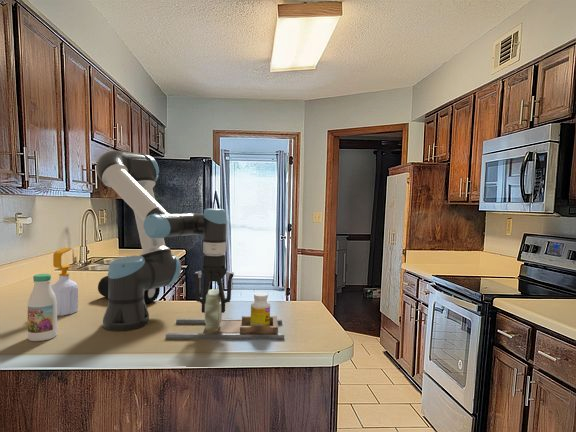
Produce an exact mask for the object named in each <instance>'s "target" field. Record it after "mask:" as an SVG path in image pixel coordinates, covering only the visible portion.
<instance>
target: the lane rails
mask: <svg viewBox="0 0 576 432" xmlns="http://www.w3.org/2000/svg"><path fill="white" fill-rule="evenodd" d="M175 321H176V323H175V324H176V325H177V324H178V325H206V323H205V318H176V319H175ZM222 321H242V318H222ZM277 323H278V325H283V319H281V318H279V319H278V318H277ZM165 340H285V333H278V334H259V333H203V332H202V333H201V332H195V333H194V332H189V333H188V332H187V333H186V332H166V334H165Z"/></svg>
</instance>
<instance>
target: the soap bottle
mask: <svg viewBox="0 0 576 432" xmlns="http://www.w3.org/2000/svg"><path fill="white" fill-rule="evenodd" d="M69 251H71V248H70V247H63V248H60V249H58V250H56V251H55V252H54V253H53V257H52V260H53V261H52V263H53V265H52V266H53V267H54V268H57V269H59V271H61V273H59V274H58V280H57V281H56V282H54V283H53V284H51V288H52V290H53V292H54V293H55V296H56V300H57V317H59V316H61V317H62V316H63V317H64V316H68V315H69V316H70V315H73V314H76V312H78V311H79V286H78V283H77V282H75V281H74V280H72V279H70V273H69V272H67V271H69V268H73V265H69V264H64V265H62V256H63V254H65V253H67V252H69Z"/></svg>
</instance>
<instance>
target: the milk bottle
mask: <svg viewBox="0 0 576 432" xmlns="http://www.w3.org/2000/svg"><path fill="white" fill-rule="evenodd" d="M32 277H33V283H34V284H33V285H34V286H33V287H32V292H31V293H30V294H29V297H28V301H27V339H28V341H29V342H30V341H31V342H43V341H47V340H51V339H53V338H55V337H56V336H57V335H58V316H57V300H56V296H55V293H54V292H53V290H52V288H51V286H52V284H51V281H52V275H51V274H50V273H38V274H35V275H33V276H32Z"/></svg>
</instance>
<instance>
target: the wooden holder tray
mask: <svg viewBox="0 0 576 432" xmlns="http://www.w3.org/2000/svg"><path fill="white" fill-rule="evenodd" d="M220 302H221V299H220V294H219V288H218V289H213V288H212V289H210V288H209V290H208V293H207V295H206V324H205V327H204V328H203V329H204V330H203V332H202V333H259V334H279V324H278V323H277V319H278V317H277V315H270V326H250V322H251V315H241V319H242V321H221V323H219V303H220Z"/></svg>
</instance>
